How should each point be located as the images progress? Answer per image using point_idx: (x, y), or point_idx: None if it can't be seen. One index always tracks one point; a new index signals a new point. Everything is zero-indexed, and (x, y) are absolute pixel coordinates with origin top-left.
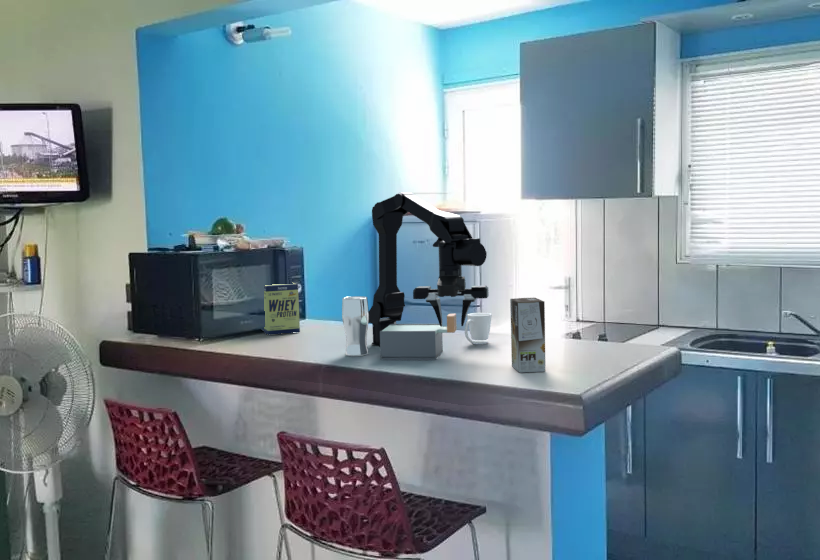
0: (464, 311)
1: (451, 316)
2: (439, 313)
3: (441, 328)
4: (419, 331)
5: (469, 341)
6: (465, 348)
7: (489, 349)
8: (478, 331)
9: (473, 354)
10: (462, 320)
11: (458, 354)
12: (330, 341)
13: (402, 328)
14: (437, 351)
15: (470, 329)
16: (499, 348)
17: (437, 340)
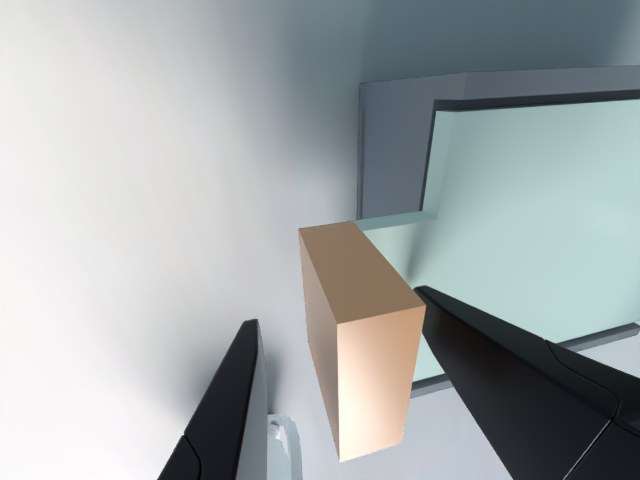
0: (197, 464)
1: (366, 314)
2: (516, 350)
3: (406, 272)
4: (590, 68)
5: (281, 415)
6: (279, 356)
7: (176, 363)
8: None
9: (206, 256)
10: (243, 352)
11: (277, 244)
12: (630, 346)
13: (628, 237)
14: (369, 162)
15: (288, 476)
16: (141, 388)
17: (395, 189)
